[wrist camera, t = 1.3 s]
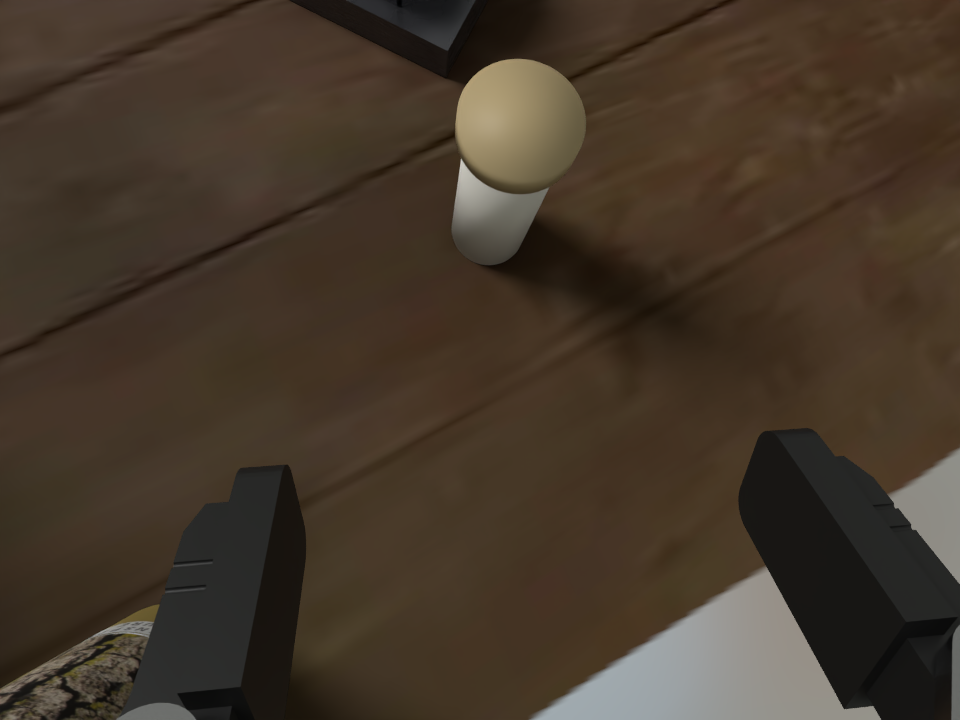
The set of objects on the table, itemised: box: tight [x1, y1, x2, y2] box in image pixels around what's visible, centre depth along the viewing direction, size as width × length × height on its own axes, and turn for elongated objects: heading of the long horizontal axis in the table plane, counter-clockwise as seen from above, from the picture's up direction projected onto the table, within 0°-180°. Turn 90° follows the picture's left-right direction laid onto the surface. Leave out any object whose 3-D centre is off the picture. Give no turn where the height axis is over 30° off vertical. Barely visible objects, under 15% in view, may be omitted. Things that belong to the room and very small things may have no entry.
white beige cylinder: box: [452, 59, 586, 265], centre depth 29 cm, size 5×5×12 cm
